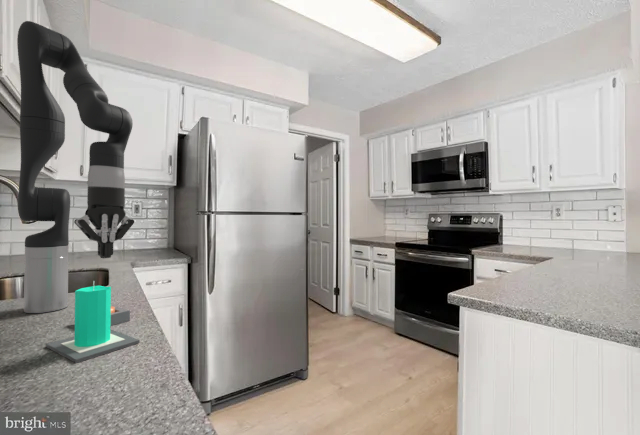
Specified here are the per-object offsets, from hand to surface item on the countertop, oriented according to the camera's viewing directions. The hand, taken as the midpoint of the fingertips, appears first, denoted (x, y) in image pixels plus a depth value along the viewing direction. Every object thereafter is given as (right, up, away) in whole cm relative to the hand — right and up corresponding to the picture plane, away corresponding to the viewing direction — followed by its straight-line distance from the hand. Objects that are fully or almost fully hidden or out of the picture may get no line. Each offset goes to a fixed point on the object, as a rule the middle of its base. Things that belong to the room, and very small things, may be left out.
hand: (105, 257), depth 79 cm
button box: (0, -16, 0) cm, 16 cm away
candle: (+7, -15, -14) cm, 22 cm away
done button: (0, -15, 0) cm, 15 cm away
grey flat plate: (+7, -16, -14) cm, 22 cm away
